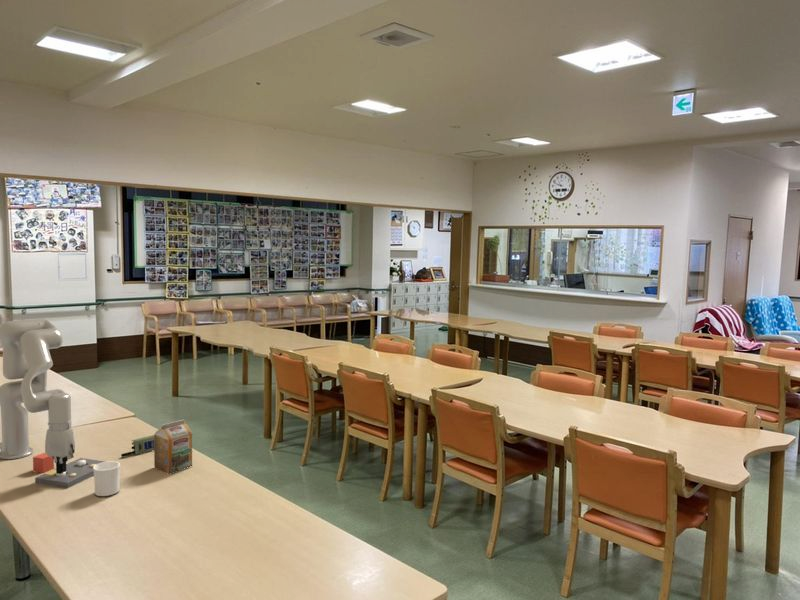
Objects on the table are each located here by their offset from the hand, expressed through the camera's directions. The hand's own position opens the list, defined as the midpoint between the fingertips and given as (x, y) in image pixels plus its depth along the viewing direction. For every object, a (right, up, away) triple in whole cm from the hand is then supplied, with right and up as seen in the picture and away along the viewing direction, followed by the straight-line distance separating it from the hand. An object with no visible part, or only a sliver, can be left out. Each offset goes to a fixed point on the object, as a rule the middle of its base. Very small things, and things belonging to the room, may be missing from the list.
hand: (61, 472), depth 222 cm
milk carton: (+37, -3, +16) cm, 40 cm away
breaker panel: (+2, -2, +5) cm, 6 cm away
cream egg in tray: (0, -2, 0) cm, 2 cm away
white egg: (+2, 0, +10) cm, 10 cm away
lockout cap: (-12, -2, +9) cm, 15 cm away
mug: (+23, -5, -10) cm, 26 cm away
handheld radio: (+19, -1, +34) cm, 39 cm away
